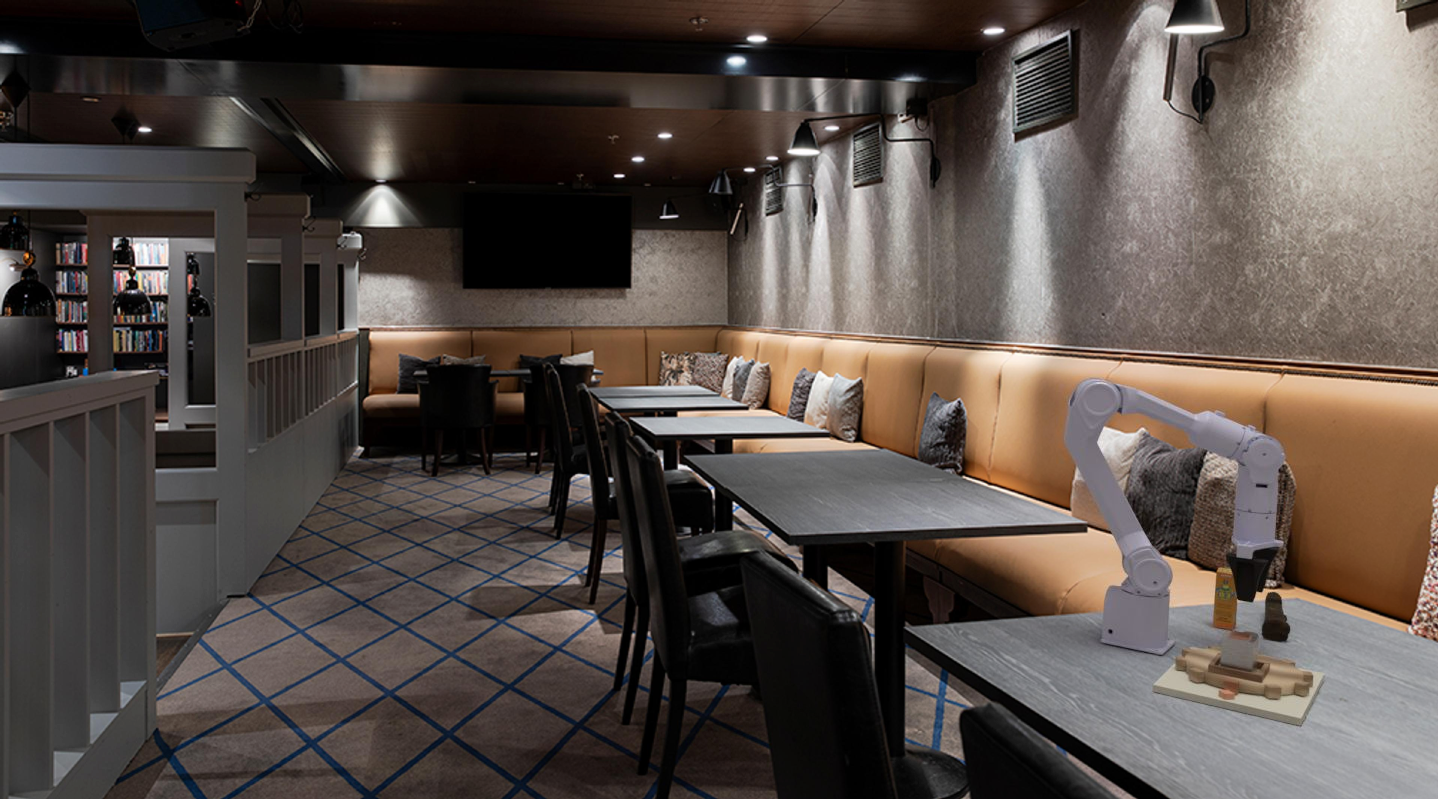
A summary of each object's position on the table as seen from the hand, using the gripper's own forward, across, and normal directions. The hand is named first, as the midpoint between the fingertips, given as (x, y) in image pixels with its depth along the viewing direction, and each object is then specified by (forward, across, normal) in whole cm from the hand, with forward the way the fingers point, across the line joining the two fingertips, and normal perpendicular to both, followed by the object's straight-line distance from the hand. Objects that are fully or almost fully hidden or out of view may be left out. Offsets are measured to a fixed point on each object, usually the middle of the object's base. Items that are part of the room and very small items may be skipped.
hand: (1250, 596), depth 152 cm
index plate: (+9, -16, -2) cm, 19 cm away
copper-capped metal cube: (+7, -18, -2) cm, 19 cm away
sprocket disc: (+8, -15, -2) cm, 17 cm away
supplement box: (+10, +14, +6) cm, 18 cm away
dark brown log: (+10, +20, 0) cm, 22 cm away
